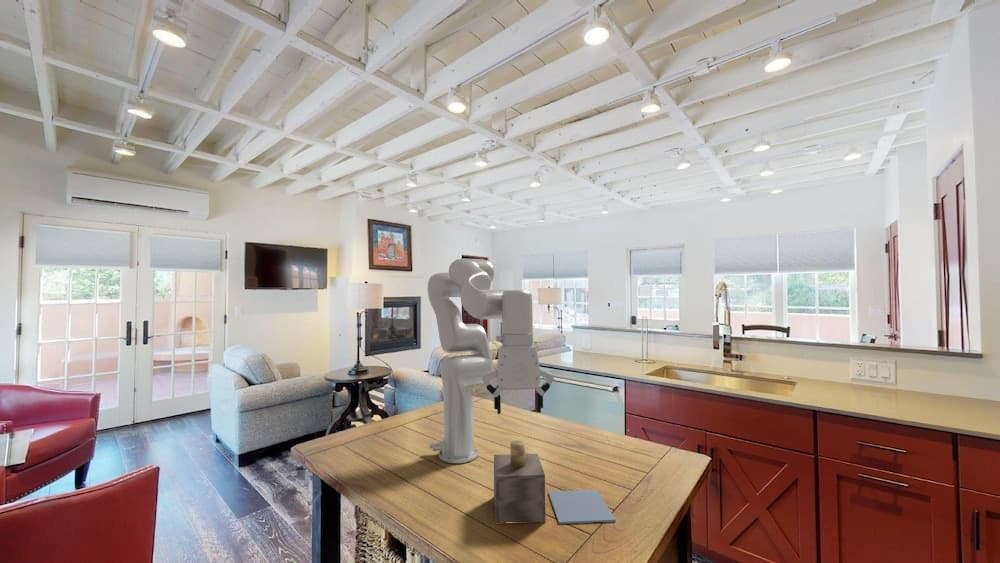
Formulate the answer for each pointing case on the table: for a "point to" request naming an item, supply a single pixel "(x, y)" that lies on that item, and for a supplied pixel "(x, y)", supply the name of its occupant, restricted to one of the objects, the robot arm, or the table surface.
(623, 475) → the table surface
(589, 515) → the mat
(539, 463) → the cover
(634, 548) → the table surface
